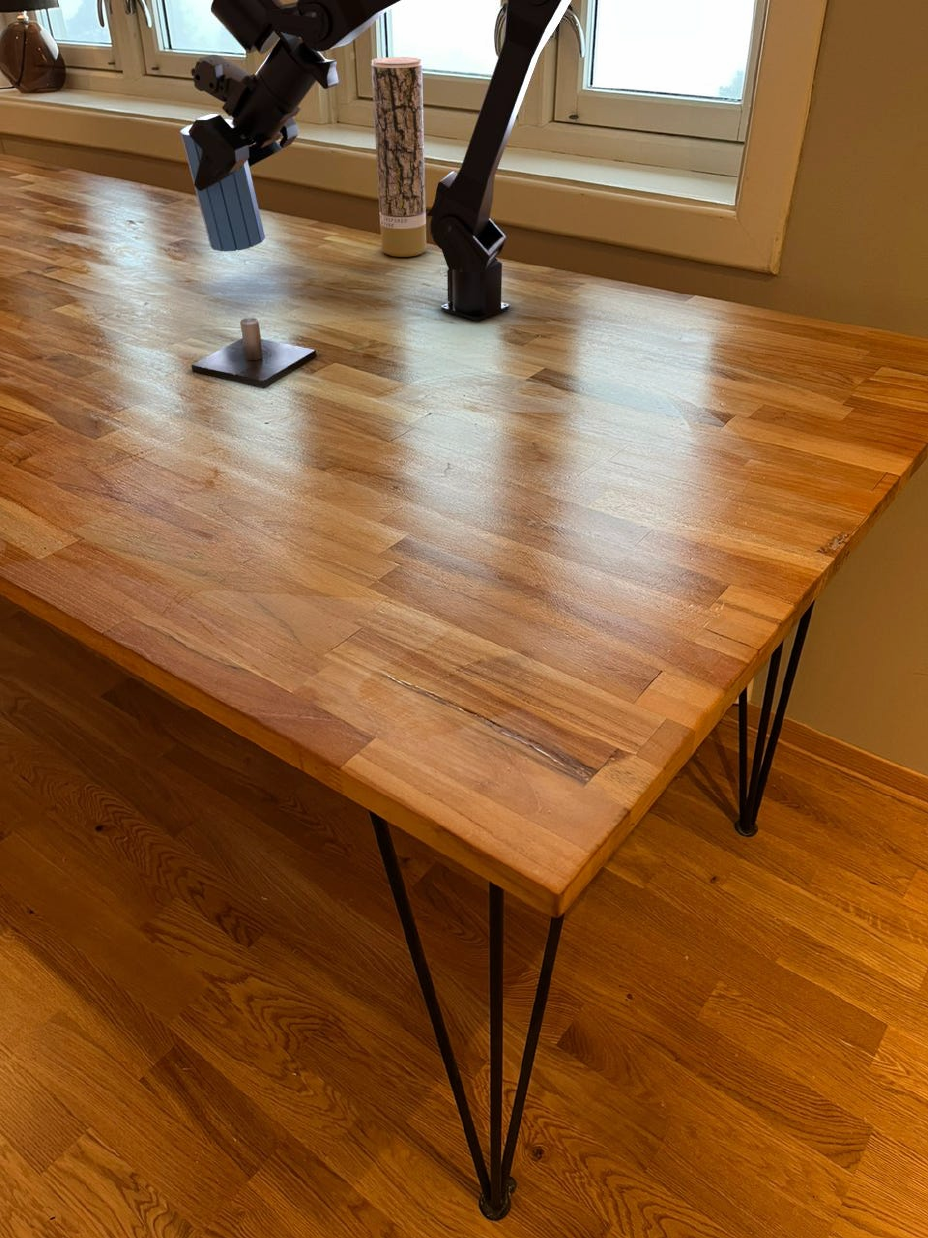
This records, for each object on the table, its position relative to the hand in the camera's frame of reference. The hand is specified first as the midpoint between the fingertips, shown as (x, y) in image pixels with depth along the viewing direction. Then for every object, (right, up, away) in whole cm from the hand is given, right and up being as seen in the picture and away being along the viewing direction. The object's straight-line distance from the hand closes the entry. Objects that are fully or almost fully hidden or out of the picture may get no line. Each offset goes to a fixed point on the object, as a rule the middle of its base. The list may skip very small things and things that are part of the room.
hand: (212, 180), depth 120 cm
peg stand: (+9, -27, -14) cm, 32 cm away
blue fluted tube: (+2, -6, +5) cm, 8 cm away
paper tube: (+23, -1, +21) cm, 31 cm away
